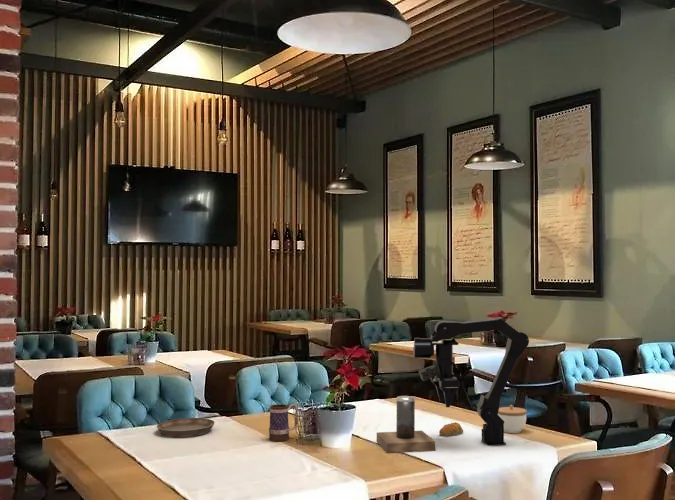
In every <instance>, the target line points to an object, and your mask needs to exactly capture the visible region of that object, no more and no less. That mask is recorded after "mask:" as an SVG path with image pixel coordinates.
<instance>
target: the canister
mask: <svg viewBox="0 0 675 500" xmlns="http://www.w3.org/2000/svg"><path fill="white" fill-rule="evenodd" d="M415 399H416V398H415V397H414V396H411V395H410V396H409V395H399V396H397V397H396V423H395V425H396V431H395V432H396V437H398V438H402V439H411V438H414V437H415V431H416V430H415V428H416V427H415V426H416V425H415V423H416V422H415V419H416V415H415V414H416V413H415V411H416V408H415V407H416V405H415V404H416V403H415V402H416V401H415Z"/></svg>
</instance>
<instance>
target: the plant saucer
mask: <svg viewBox="0 0 675 500" xmlns="http://www.w3.org/2000/svg"><path fill="white" fill-rule="evenodd" d="M215 423H216V422H215V420H212V419H210V418H204V417H203V418H202V417H186V418H185V417H184V418H175V419H170V420H165V421H162V422H160V423H158V424H157V425H156V428H157V430H158V431H159V432H160V434H162V435H163V436H166V437H171V438H191V437H196V436H202V435H205V434H207V433H208V432H210V430H212V428H213V426H215Z"/></svg>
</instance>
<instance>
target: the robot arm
mask: <svg viewBox="0 0 675 500" xmlns="http://www.w3.org/2000/svg"><path fill="white" fill-rule="evenodd" d="M489 331H490V332H491V331H498V332H499V333H500V334H501V335H502V336H503V337H505V338H506V339H507V340H506V345H505V353H504V356H503V358H502V361H501V363H500V366H499V368H498V370H497V372H496V375H495V377H494V379H493V382H492V383H491V385H490V388H489V391H488V393H486V394H485V395H483V394H480V396H479V397H480V398H479V401H478V402H477V403H476V406H477V408H476V412H477V414H478V416H480V418H481V419H482V420H483V422H484V423H483V424H482V428H481V443H483V444H484V445H486V446H502V445H503V446H504V445H505V446H506V445H507V443H506V442H505V432H504V421H503V419H502V418H501V417H500V416H499V415H498V411H499V408H500V403H501V398H502V395H503V393H504V391H505V388H506V386H507V384H508V381H509V379H510V376H511V374H512V372H513V370H514V367H515V365H516V363H517V360H518V359H519V358H520V357H521V356H522V355H523V353H524V352H525V350H526V349H527V348H528V346H529V343H530V339H529V336H528V335H527V334H526V333H525V332H522V331H519V330H516V329H515V328H514V327H512V326H511V325H510V324H509V323H508V322H506V321H505V319H503V318H501V317H495V318H489V319H478V320H468V321H467V320H466V321H455V320H454V321H453V320H439V321H437V323H436V324H435V325H434V331H433V332H432V334H431V335H429V336H430V337H429V338H421V337H414V340H413V341H414V342H413V347H412V348H413V349H412V350H413V351H412V352H413V353H412V355H413V359H431V358H432V356H434V355H435V359H434V361H433V363H432V364H433V365H430V366H427V367H425V368H424V367H423V368H421V369H419V370H418V374H419V376H420V379H421V380H422V382H427V381H428V380H430V382H431V383H432V384H433V385H434V386H435V388H436V391H437V396H438V400H439V403H445V407H446V408H450V407H451V404H452V402H453V400H454V397H456V393H457V391H458V390H459V388H460V387H461V381H460V379H458V377H456V376H455V373H454V372H453V371H454V370H453V369H454V366H455V361H453V357H454V355H453V354H454V353H453V352H454V350H453V346H459V342H458V341H456V339H455V338H454V337H457V336H460V335H463V334H469V333H470V334H471V333H479V332H489Z"/></svg>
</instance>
